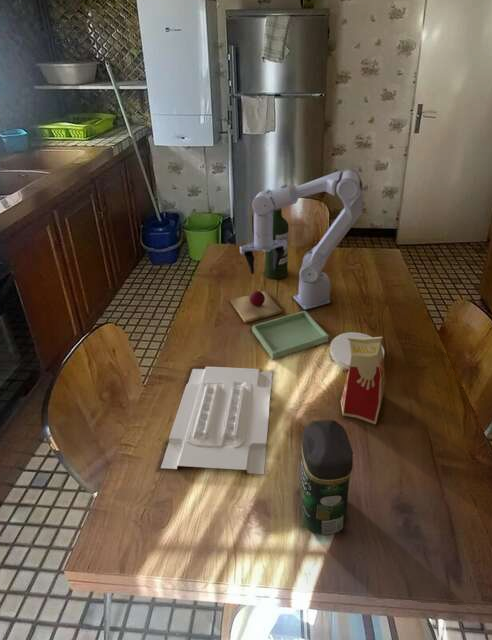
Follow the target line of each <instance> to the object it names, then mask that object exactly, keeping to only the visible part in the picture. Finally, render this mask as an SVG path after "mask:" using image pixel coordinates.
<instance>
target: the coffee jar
mask: <svg viewBox="0 0 492 640" xmlns="http://www.w3.org/2000/svg"><path fill="white" fill-rule="evenodd" d="M353 455H354V451H353V449H352V444H351V442H350V439H349V435H348V434H347V430H346V429H345V428H344V427H343V425H342V424H340V423H339V422H338V421H336V420H335V419H319V420H313V421H311V422H309V424H307V425H306V426H305V427H304V430H303V432H302V438H301V457H300V458H301V461H300V478H299V479H300V482H299V507H300V513H301V516H302V521H303V523H304V526H305V528H306V529H307V531H309V532H310V533H312V534H314V535H319V536H328V535H333V534H336V533H339V532H341V531H342V530H343V529H344V527H345V525H346V521H347V510H348V499H349V488H350V478H351V474H352V472H353V467H354V456H353Z"/></svg>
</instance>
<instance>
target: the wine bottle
mask: <svg viewBox="0 0 492 640" xmlns="http://www.w3.org/2000/svg"><path fill="white" fill-rule="evenodd" d="M289 227H290V226H289V222H288V221H287V220H286V218H285V217H283V215H282V208H279V209H273V240H285V241H286V242H287V248H283V249H284V255H283V256H282V258H281V259H280V262H279V264H278V268H277V270H274V268H273V251H272V249H271V250H270V252H264V273H265V276H266V277H267V278H269V279H273V280H280V279H284V278H285V277H286V276H287V275H288V261H289V260H288V258H289V229H290V228H289Z"/></svg>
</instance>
